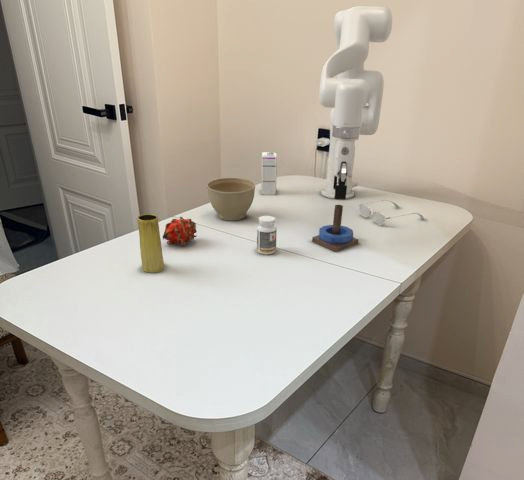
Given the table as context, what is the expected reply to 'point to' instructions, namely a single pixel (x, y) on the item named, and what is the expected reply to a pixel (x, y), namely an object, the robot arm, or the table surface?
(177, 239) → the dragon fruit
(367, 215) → the eyeglasses
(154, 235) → the vase
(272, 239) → the pill bottle
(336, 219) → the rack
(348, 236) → the blue ring
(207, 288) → the table surface
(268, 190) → the syrup box
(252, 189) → the planter bowl
